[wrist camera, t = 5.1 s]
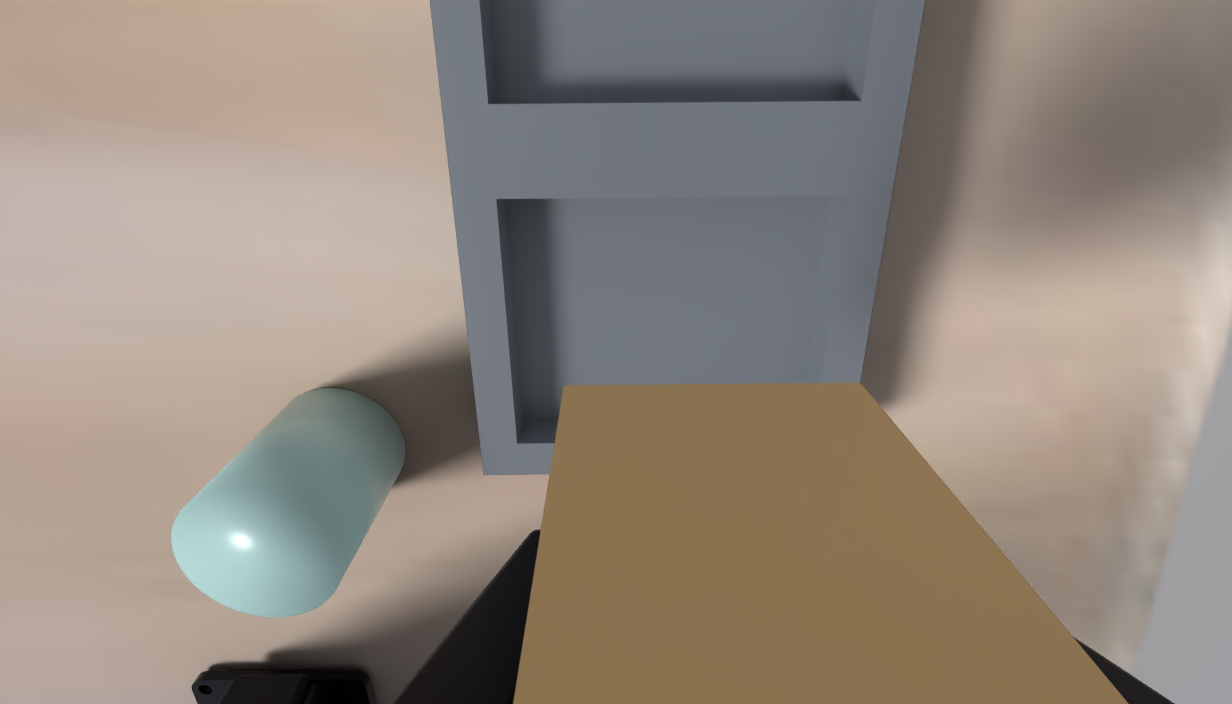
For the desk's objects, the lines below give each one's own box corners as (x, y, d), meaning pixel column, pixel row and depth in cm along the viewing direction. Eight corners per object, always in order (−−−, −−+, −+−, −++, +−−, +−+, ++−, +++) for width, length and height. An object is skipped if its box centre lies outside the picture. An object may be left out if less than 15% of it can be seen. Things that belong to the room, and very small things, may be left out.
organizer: (818, 426, 19) (845, 471, 17) (498, 429, 19) (483, 474, 17) (923, -306, 12) (991, -391, 10) (426, -303, 12) (386, -387, 10)
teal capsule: (413, 495, 20) (355, 616, 16) (292, 496, 20) (198, 618, 16) (395, 386, 19) (323, 486, 14) (263, 388, 19) (148, 488, 14)
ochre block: (822, 605, 10) (1005, 1056, 5) (574, 607, 10) (541, 1063, 5) (860, 382, 8) (1170, 753, 4) (564, 385, 8) (504, 761, 4)
